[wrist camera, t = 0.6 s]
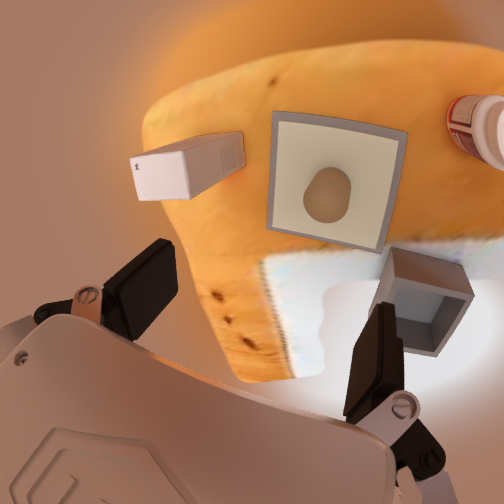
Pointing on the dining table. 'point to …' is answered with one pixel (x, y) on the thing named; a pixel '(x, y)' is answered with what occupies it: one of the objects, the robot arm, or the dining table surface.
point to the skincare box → (187, 166)
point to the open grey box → (424, 299)
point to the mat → (342, 124)
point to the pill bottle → (479, 127)
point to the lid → (332, 182)
